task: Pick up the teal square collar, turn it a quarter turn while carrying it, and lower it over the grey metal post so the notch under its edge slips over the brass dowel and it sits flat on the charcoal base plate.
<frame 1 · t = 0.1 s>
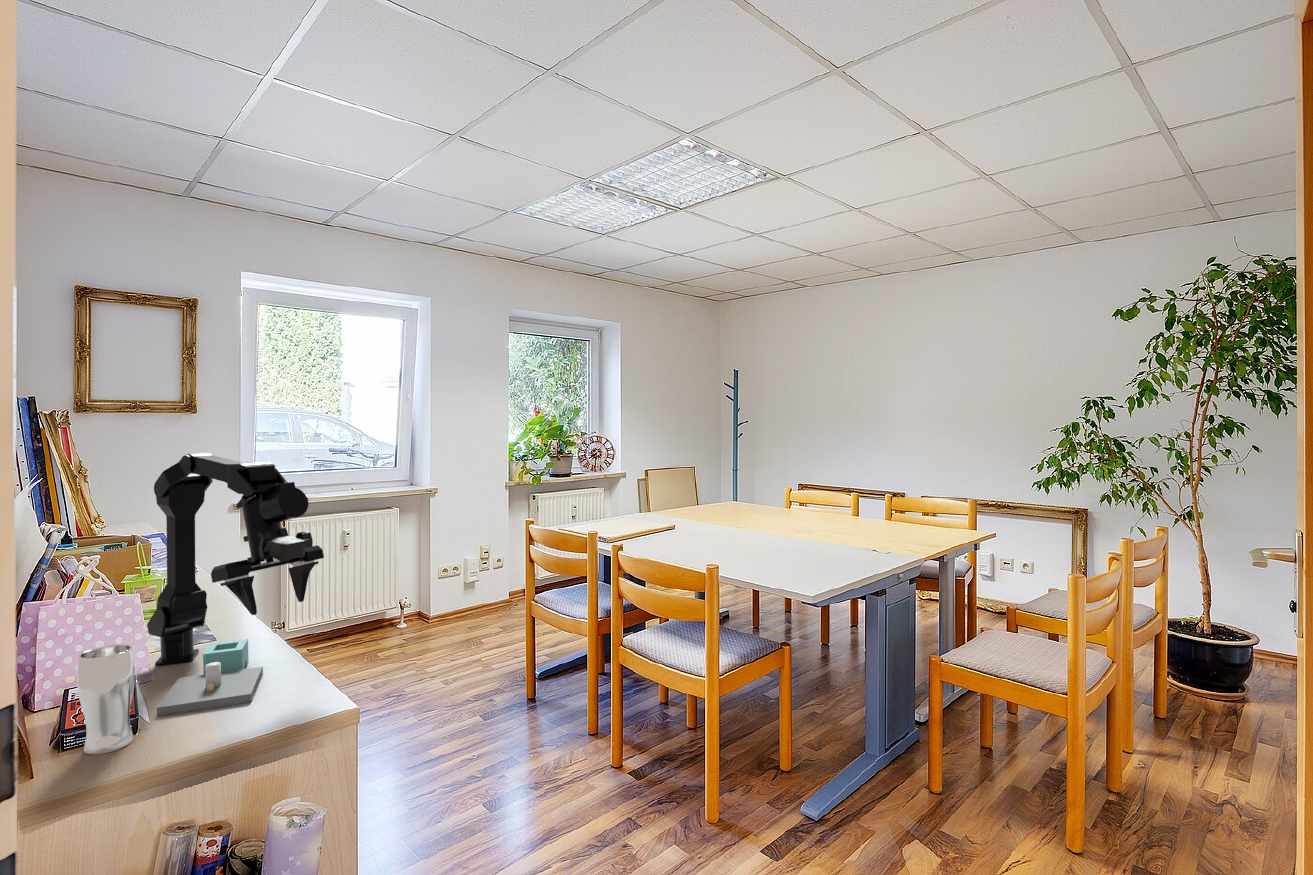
hand: (278, 607, 125), 15 cm above the cabinet, tool pointing down, fingers open, 9 cm apart
collar: (226, 670, 134), on the cabinet
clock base: (213, 693, 123), on the cabinet
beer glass: (109, 746, 104), on the cabinet
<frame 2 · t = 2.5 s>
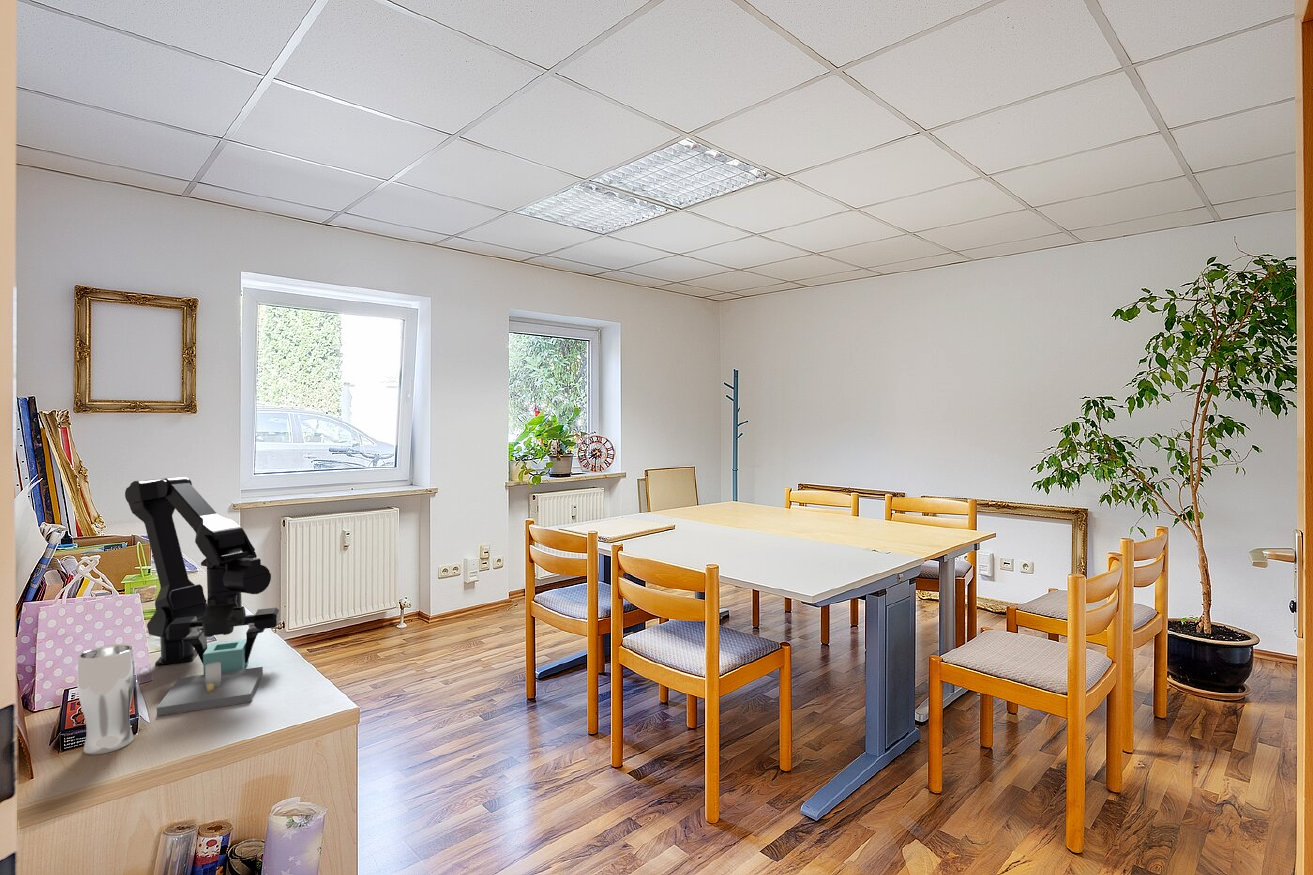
hand: (226, 664, 134), 1 cm above the cabinet, tool pointing down, fingers closed on collar, 7 cm apart
collar: (226, 670, 134), on the cabinet, touching gripper
everything else where it was.
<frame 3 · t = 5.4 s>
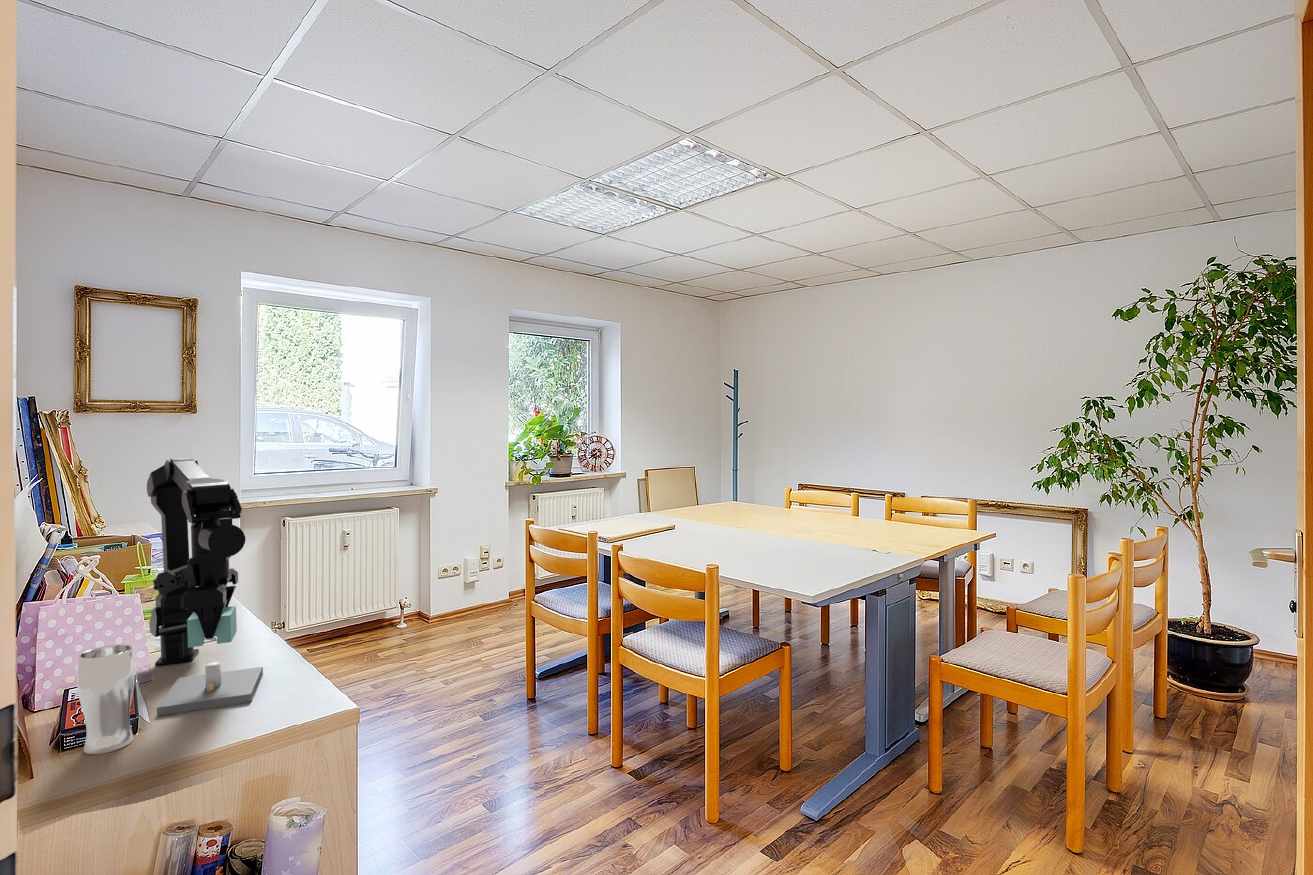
hand: (213, 632, 123), 11 cm above the cabinet, tool pointing down, fingers closed on collar, 7 cm apart
collar: (213, 639, 123), point 10 cm above the cabinet, touching gripper
everything else where it was.
when the fingers open (3 cm above the cabinet, at t = 8.3 s): collar stays where it is, resting on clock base.
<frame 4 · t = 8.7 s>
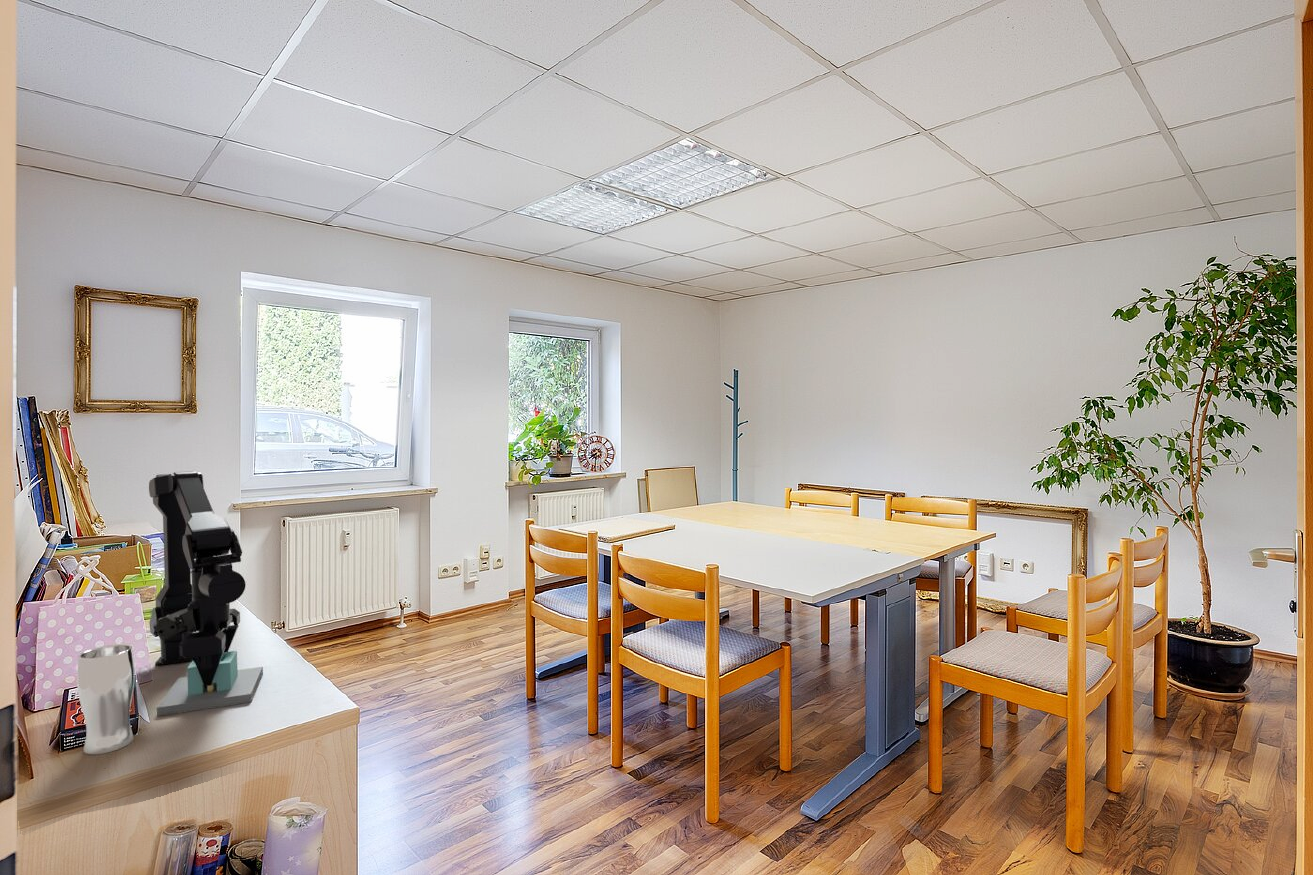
hand: (213, 676, 123), 3 cm above the cabinet, tool pointing down, fingers open, 9 cm apart
collar: (213, 685, 123), point 1 cm above the cabinet, touching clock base
everything else where it was.
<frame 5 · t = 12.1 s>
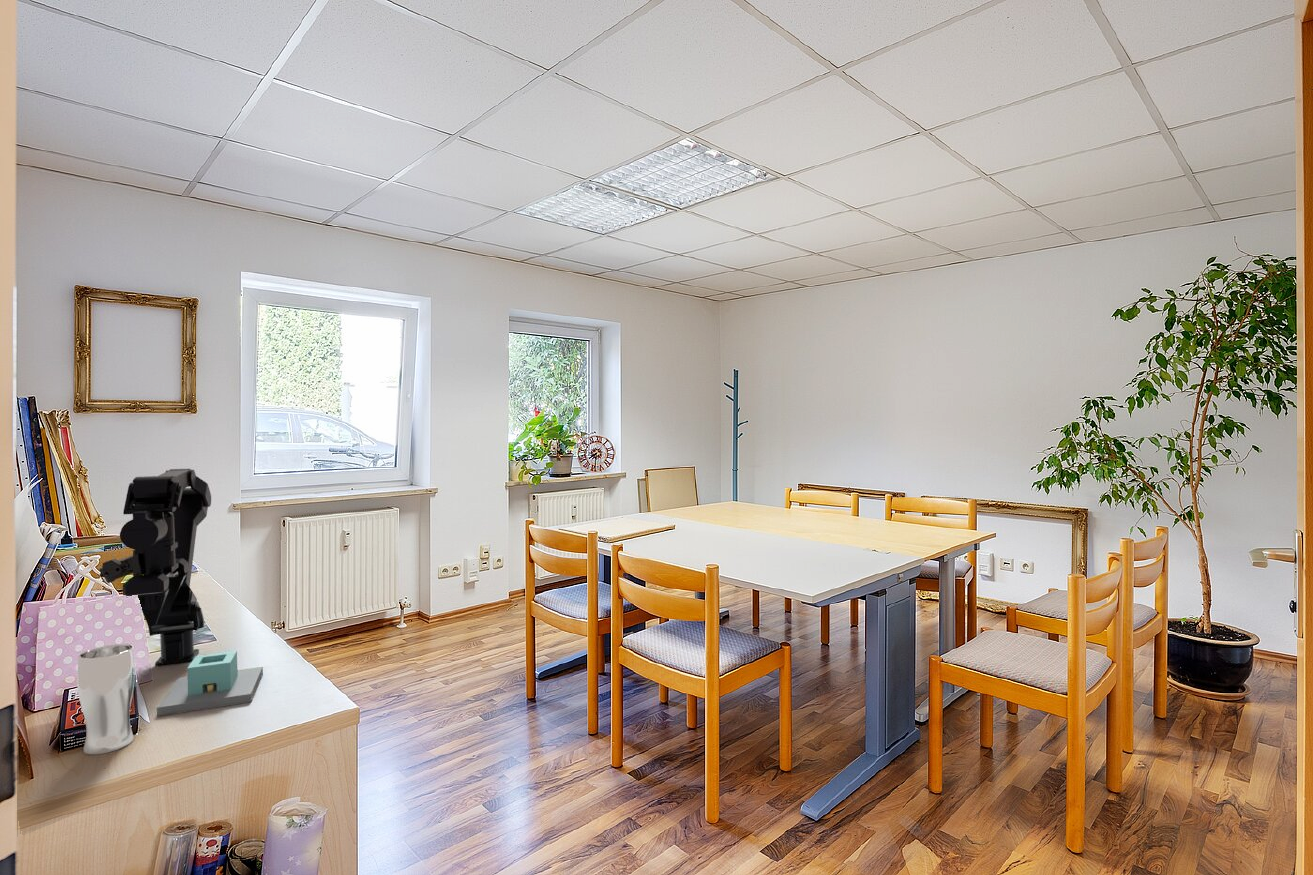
hand: (159, 619, 129), 12 cm above the cabinet, tool pointing down, fingers open, 9 cm apart
nothing on the cabinet moved.
at the end: collar 0.1 cm from the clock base (horizontally); collar point 1.5 cm above the cabinet; collar tilted 0° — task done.
